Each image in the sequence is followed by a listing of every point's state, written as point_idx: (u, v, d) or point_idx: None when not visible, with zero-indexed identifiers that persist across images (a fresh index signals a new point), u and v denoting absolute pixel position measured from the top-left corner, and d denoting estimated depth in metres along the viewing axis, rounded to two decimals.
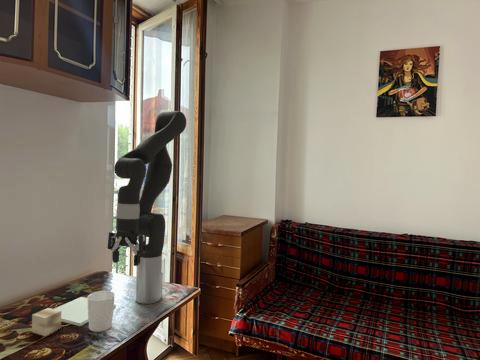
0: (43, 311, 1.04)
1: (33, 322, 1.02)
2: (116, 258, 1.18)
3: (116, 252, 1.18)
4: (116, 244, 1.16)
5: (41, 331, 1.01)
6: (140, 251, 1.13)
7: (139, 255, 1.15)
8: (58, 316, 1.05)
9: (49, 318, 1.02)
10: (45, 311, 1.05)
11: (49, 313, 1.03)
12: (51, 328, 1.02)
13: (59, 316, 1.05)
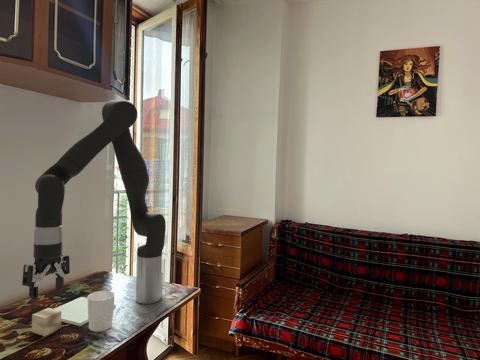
0: (43, 311, 1.04)
1: (33, 322, 1.02)
2: None
3: None
4: (42, 275, 1.00)
5: (41, 331, 1.01)
6: (68, 271, 1.09)
7: None
8: (58, 316, 1.05)
9: (49, 318, 1.02)
10: (45, 311, 1.05)
11: (49, 313, 1.03)
12: (51, 328, 1.02)
13: (59, 316, 1.05)
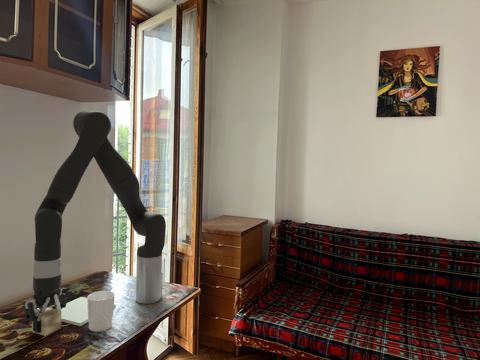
0: None
1: None
2: None
3: None
4: (44, 309, 1.01)
5: (41, 331, 1.01)
6: (64, 305, 1.08)
7: None
8: (58, 316, 1.05)
9: (49, 318, 1.02)
10: (45, 310, 1.05)
11: (49, 313, 1.03)
12: (51, 328, 1.02)
13: (59, 316, 1.05)
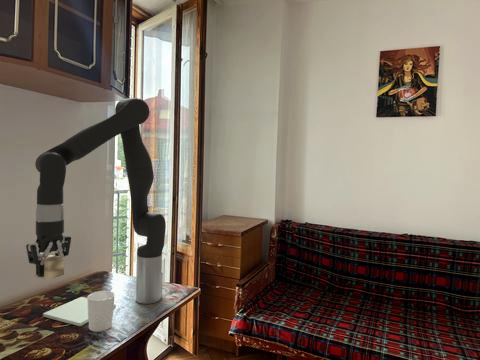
0: (46, 257, 1.04)
1: None
2: None
3: None
4: (47, 253, 1.01)
5: (44, 275, 1.01)
6: (67, 253, 1.08)
7: None
8: (61, 262, 1.05)
9: (52, 262, 1.02)
10: (48, 257, 1.05)
11: (51, 259, 1.03)
12: (54, 273, 1.02)
13: (62, 262, 1.05)
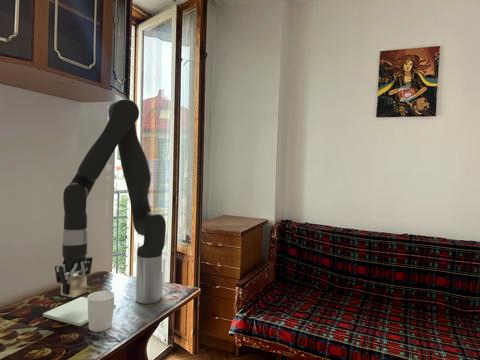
0: None
1: None
2: None
3: None
4: (72, 273, 1.12)
5: None
6: (89, 272, 1.20)
7: None
8: (84, 281, 1.16)
9: (77, 281, 1.13)
10: None
11: (76, 278, 1.15)
12: (78, 291, 1.14)
13: (85, 281, 1.16)
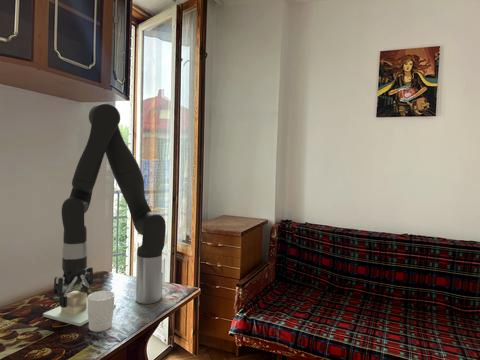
0: (70, 293, 1.16)
1: None
2: None
3: None
4: (70, 286, 1.12)
5: (70, 310, 1.13)
6: (92, 281, 1.21)
7: None
8: (84, 298, 1.16)
9: (77, 299, 1.14)
10: (72, 293, 1.17)
11: (76, 295, 1.15)
12: (78, 308, 1.14)
13: (85, 298, 1.17)
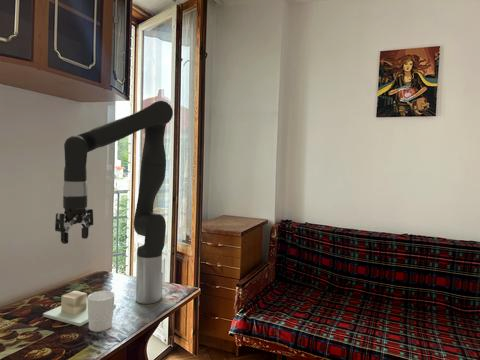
0: (70, 293, 1.16)
1: (62, 303, 1.14)
2: None
3: None
4: (72, 223, 1.15)
5: (70, 310, 1.13)
6: (92, 223, 1.24)
7: None
8: (84, 298, 1.16)
9: (77, 299, 1.14)
10: (72, 293, 1.17)
11: (76, 295, 1.15)
12: (78, 308, 1.14)
13: (85, 298, 1.17)
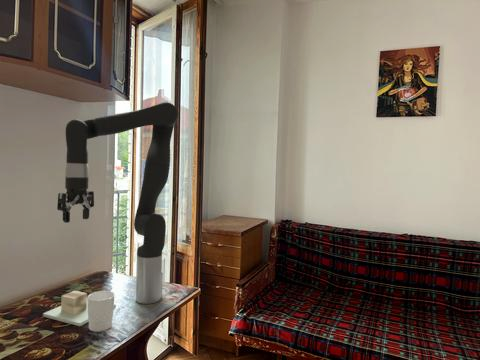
0: (70, 293, 1.16)
1: (62, 303, 1.14)
2: None
3: None
4: (73, 203, 1.20)
5: (70, 310, 1.13)
6: (93, 204, 1.29)
7: None
8: (84, 298, 1.16)
9: (77, 299, 1.14)
10: (72, 293, 1.17)
11: (76, 295, 1.15)
12: (78, 308, 1.14)
13: (85, 298, 1.17)
